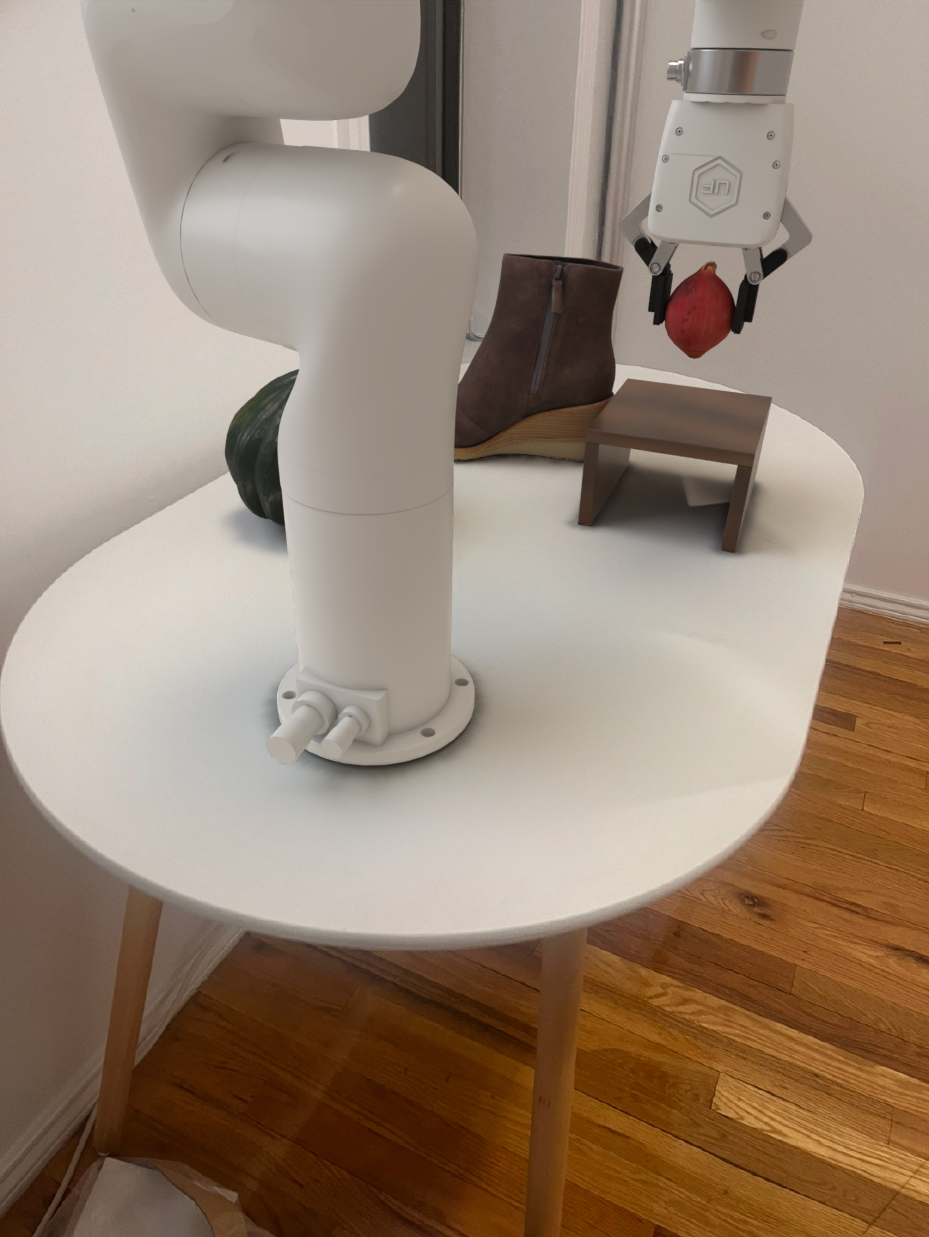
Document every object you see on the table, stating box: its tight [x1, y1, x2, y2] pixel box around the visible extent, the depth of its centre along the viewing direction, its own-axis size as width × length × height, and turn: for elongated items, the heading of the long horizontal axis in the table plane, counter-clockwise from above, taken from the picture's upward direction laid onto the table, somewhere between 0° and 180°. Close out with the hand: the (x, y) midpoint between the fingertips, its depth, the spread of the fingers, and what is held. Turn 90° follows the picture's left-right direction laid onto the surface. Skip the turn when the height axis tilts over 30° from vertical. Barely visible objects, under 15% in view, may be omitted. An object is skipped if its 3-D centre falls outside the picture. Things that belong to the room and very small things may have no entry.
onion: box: [664, 260, 736, 360], centre depth 75 cm, size 6×6×8 cm
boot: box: [454, 252, 625, 462], centre depth 90 cm, size 9×24×20 cm, turn 84°
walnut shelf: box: [577, 377, 773, 553], centre depth 82 cm, size 16×14×9 cm
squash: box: [224, 368, 299, 527], centre depth 77 cm, size 14×15×15 cm
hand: (698, 324), depth 75 cm, fingers closed on onion, 6 cm apart
